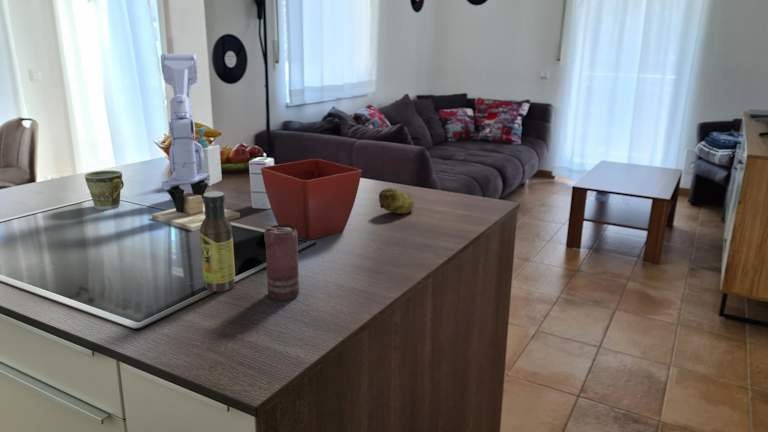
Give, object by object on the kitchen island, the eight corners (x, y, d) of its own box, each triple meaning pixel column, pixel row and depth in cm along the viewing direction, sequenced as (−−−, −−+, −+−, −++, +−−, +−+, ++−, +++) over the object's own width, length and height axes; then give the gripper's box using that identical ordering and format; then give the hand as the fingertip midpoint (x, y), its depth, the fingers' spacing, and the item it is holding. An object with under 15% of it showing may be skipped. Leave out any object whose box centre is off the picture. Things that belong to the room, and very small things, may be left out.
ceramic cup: (81, 208, 172) (76, 175, 169) (110, 200, 180) (106, 168, 177) (111, 214, 166) (107, 180, 163) (140, 206, 174) (136, 173, 172)
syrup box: (269, 209, 174) (267, 161, 169) (251, 208, 175) (248, 160, 171) (276, 204, 179) (274, 157, 175) (258, 203, 180) (256, 156, 176)
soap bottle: (222, 180, 207) (218, 126, 202) (209, 186, 199) (205, 130, 194) (200, 178, 209) (196, 125, 204) (187, 184, 201) (182, 129, 195)
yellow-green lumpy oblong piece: (423, 214, 172) (424, 187, 169) (385, 220, 165) (386, 192, 163) (408, 207, 178) (409, 181, 176) (371, 212, 172) (371, 186, 170)
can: (268, 289, 119) (265, 223, 115) (299, 288, 120) (298, 223, 116) (265, 302, 113) (261, 233, 109) (298, 301, 114) (296, 233, 110)
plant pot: (363, 230, 156) (363, 169, 151) (306, 247, 143) (304, 180, 138) (317, 215, 169) (316, 158, 164) (261, 229, 156) (258, 167, 151)
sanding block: (175, 211, 166) (174, 194, 165) (187, 208, 169) (186, 191, 168) (191, 215, 162) (189, 198, 161) (203, 212, 166) (201, 195, 164)
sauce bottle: (202, 283, 121) (194, 190, 116) (233, 279, 124) (227, 187, 118) (206, 295, 116) (198, 198, 110) (238, 290, 118) (232, 195, 112)
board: (152, 218, 163) (151, 214, 163) (199, 206, 176) (199, 202, 176) (192, 231, 153) (192, 226, 153) (240, 217, 166) (239, 212, 166)
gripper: (171, 168, 154) (175, 217, 158) (215, 160, 165) (218, 206, 169) (155, 165, 158) (160, 213, 162) (199, 156, 169) (203, 202, 173)
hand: (189, 209), depth 166 cm, fingers open, 5 cm apart
